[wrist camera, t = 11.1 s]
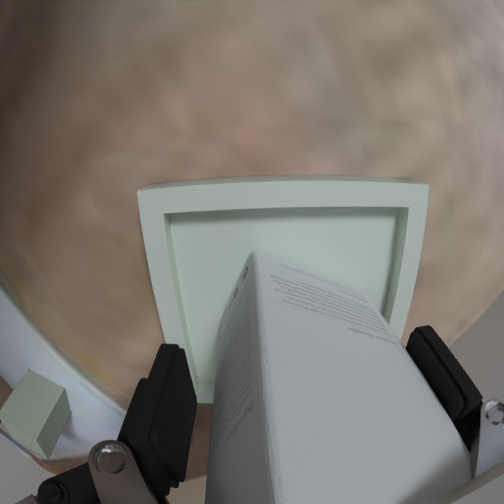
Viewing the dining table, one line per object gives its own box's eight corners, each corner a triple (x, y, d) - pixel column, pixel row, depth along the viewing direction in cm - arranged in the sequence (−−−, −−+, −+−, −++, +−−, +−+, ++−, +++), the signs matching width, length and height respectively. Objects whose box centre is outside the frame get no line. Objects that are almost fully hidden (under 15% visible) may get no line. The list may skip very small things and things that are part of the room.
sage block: (29, 368, 17) (-3, 414, 12) (65, 387, 18) (36, 440, 12) (37, 394, 19) (11, 438, 13) (71, 412, 19) (48, 460, 14)
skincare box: (219, 322, 14) (183, 594, 2) (254, 240, 12) (262, 621, 1) (329, 354, 14) (385, 574, 3) (373, 286, 13) (507, 520, 2)
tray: (151, 183, 12) (136, 190, 10) (409, 178, 12) (429, 184, 10) (188, 381, 17) (183, 402, 15) (375, 369, 16) (383, 388, 15)
